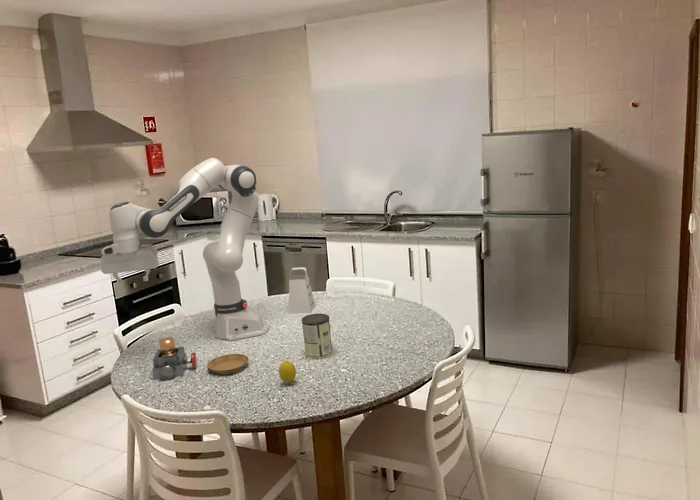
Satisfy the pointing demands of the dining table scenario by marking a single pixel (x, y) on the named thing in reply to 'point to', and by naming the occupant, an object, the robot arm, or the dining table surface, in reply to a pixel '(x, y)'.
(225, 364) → the plant saucer
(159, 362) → the valve body
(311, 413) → the dining table surface
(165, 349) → the cylinder
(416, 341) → the dining table surface
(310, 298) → the grater
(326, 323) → the coffee can
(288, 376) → the lemon
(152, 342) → the dining table surface
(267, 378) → the dining table surface
